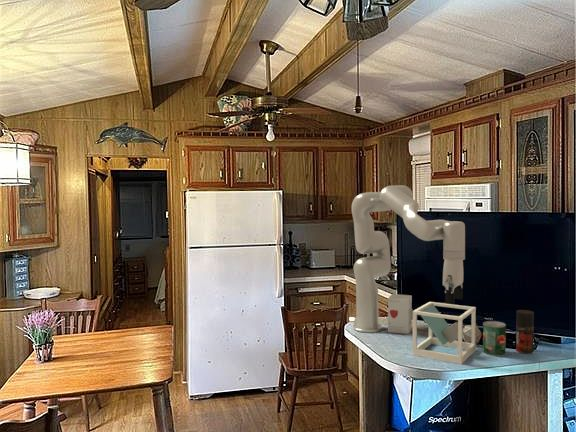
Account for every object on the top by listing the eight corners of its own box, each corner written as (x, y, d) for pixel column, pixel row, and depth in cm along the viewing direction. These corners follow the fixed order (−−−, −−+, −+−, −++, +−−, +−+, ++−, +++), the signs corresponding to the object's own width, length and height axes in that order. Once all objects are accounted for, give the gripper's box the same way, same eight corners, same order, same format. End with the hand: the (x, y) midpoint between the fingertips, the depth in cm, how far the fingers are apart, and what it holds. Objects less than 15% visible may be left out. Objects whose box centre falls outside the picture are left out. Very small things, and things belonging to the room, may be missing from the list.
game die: (473, 352, 203) (484, 330, 205) (478, 351, 194) (490, 328, 196) (452, 339, 205) (464, 318, 207) (457, 338, 197) (469, 316, 199)
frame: (412, 355, 189) (412, 311, 188) (429, 342, 204) (429, 301, 203) (461, 364, 179) (461, 317, 178) (475, 350, 193) (475, 307, 192)
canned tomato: (507, 357, 185) (507, 327, 185) (483, 355, 187) (484, 326, 187) (504, 350, 193) (504, 321, 192) (481, 348, 195) (482, 320, 194)
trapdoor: (417, 312, 189) (419, 311, 189) (431, 304, 201) (432, 303, 200) (442, 345, 184) (444, 344, 184) (455, 335, 196) (456, 334, 196)
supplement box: (387, 332, 219) (387, 297, 218) (391, 327, 227) (391, 293, 226) (408, 334, 215) (408, 299, 214) (412, 328, 224) (412, 294, 223)
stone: (441, 331, 189) (452, 325, 187) (446, 328, 193) (456, 321, 191) (449, 343, 188) (460, 337, 185) (454, 340, 192) (464, 333, 189)
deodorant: (512, 350, 193) (512, 310, 192) (524, 347, 195) (524, 309, 194) (525, 354, 188) (525, 314, 187) (537, 352, 190) (537, 312, 189)
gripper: (451, 251, 196) (451, 295, 197) (435, 257, 182) (435, 304, 183) (471, 252, 192) (471, 298, 193) (457, 258, 178) (456, 307, 179)
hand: (453, 301), depth 188 cm, fingers open, 9 cm apart
